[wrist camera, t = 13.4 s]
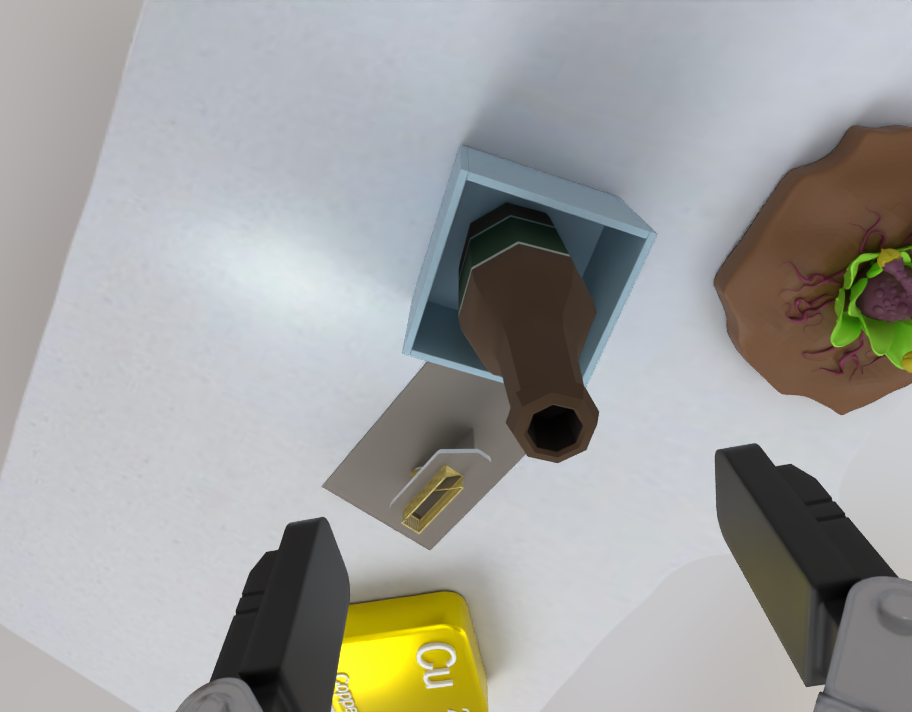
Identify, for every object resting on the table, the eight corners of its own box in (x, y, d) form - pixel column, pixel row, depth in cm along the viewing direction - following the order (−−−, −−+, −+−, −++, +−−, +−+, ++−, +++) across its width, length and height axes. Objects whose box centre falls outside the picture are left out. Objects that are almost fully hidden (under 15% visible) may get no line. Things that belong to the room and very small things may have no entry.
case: (411, 299, 49) (401, 354, 41) (460, 143, 44) (460, 168, 36) (557, 343, 51) (578, 404, 42) (620, 197, 46) (658, 233, 37)
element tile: (314, 607, 63) (303, 649, 59) (463, 586, 62) (463, 626, 58) (354, 706, 70) (347, 750, 65) (490, 689, 68) (492, 732, 64)
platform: (321, 486, 57) (306, 537, 51) (445, 340, 51) (443, 380, 45) (430, 550, 60) (426, 605, 54) (558, 420, 54) (571, 467, 48)
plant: (665, 298, 49) (718, 364, 39) (878, 75, 42) (1010, 85, 32) (834, 432, 54) (920, 521, 44) (1048, 253, 47) (1208, 310, 37)
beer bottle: (436, 262, 47) (417, 447, 26) (503, 176, 45) (544, 301, 23) (518, 321, 49) (564, 538, 28) (587, 242, 47) (697, 415, 25)
